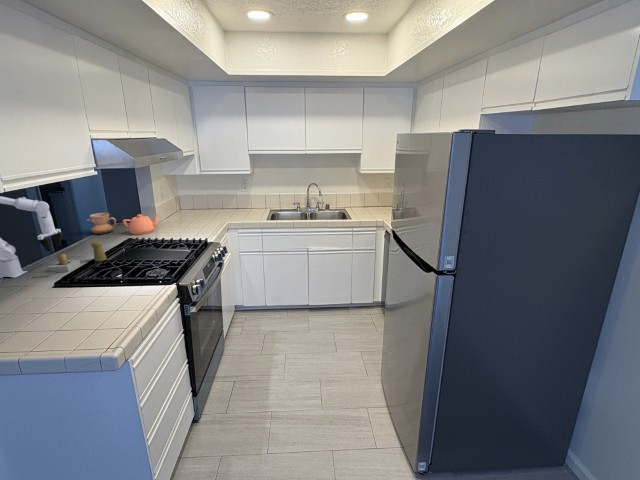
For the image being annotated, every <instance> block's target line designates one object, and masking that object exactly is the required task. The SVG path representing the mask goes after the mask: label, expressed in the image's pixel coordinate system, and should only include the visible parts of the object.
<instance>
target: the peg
mask: <svg viewBox="0 0 640 480" xmlns="http://www.w3.org/2000/svg"><path fill="white" fill-rule="evenodd" d="M56 257H57V262H59V264H60V265H66V264H68V262H67V260H68V258H67V254H66V253H60V254H57V255H56Z"/></svg>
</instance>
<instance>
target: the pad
mask: <svg viewBox="0 0 640 480" xmlns="http://www.w3.org/2000/svg"><path fill="white" fill-rule="evenodd" d="M56 273H58V272H49V271H48V270H43V271H41V272H39V273H37V274H35V275H33V276H32V278H35V279H36V278H49V277H50V276H53V275H55V274H56Z"/></svg>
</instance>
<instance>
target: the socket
mask: <svg viewBox="0 0 640 480" xmlns="http://www.w3.org/2000/svg"><path fill="white" fill-rule="evenodd" d="M67 262H68V264H66V265H60V264H59V261H57V262H55V263H53V264H51V265H49V266H48V267H47V271H49V272H57V273H68V272H69V273H70V271H73V270H74V269H76V268H77V267H79V266H80V265H81V261H80V259H69V260H68V259H67Z"/></svg>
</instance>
